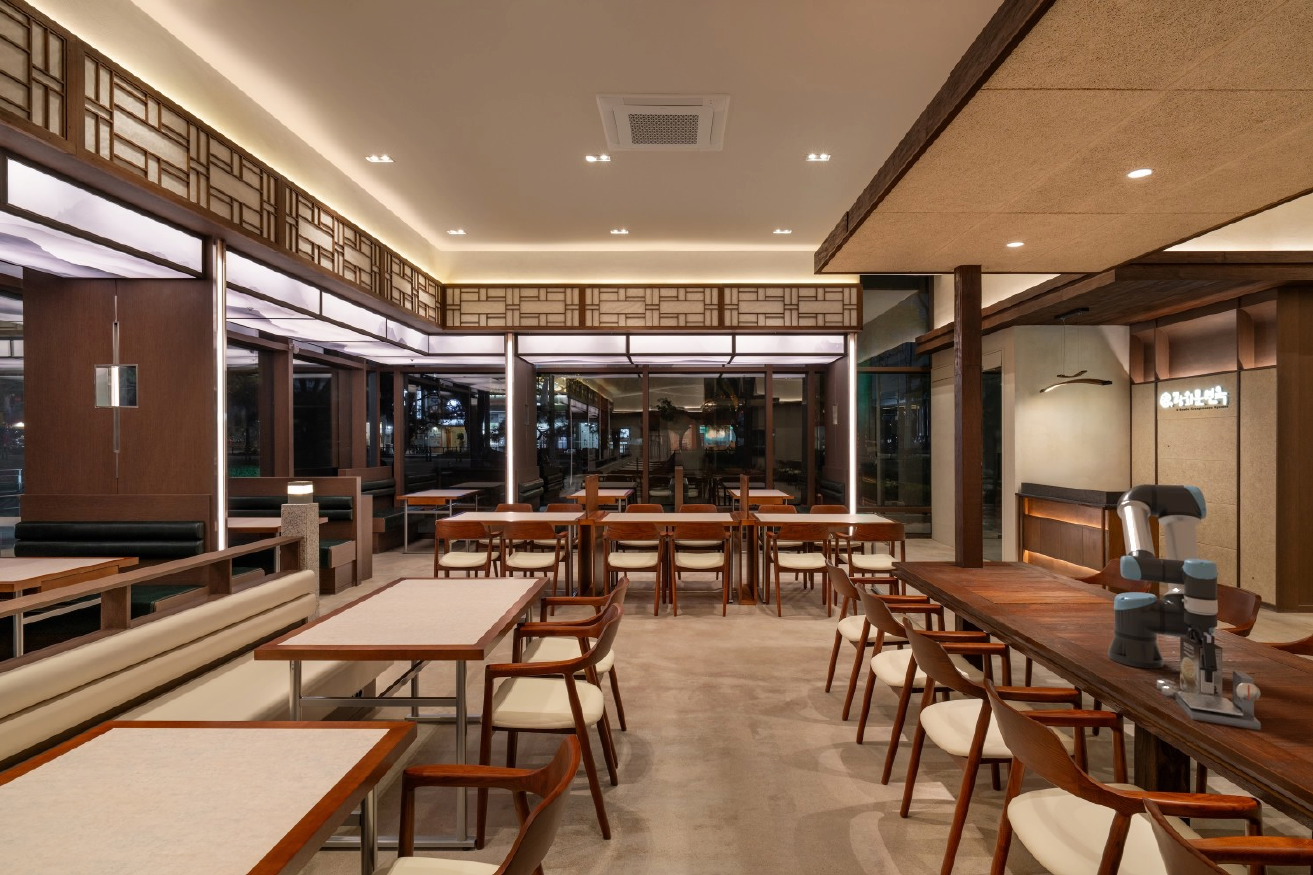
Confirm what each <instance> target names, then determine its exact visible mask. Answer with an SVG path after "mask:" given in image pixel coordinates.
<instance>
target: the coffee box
mask: <svg viewBox="0 0 1313 875" xmlns="http://www.w3.org/2000/svg"><path fill="white" fill-rule="evenodd" d="M1179 638H1180V639H1179V642H1180V643H1179V644H1180V645H1179V650H1180V652H1179V686H1180V687H1179V688H1180V689H1181V691H1183V692H1187V693H1194V694H1201V695H1208V696H1215V697H1222V698H1223V647H1221V646H1220V645H1218V644H1216V643H1214V645H1215V654H1216V663H1217V672H1216V671H1214V694H1212V693H1205V692H1201V670H1200V669H1199V668H1200V667H1202V655H1203V645H1197V644H1196V641H1195V640H1194V639H1190V638H1189V637H1179Z"/></svg>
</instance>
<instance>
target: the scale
mask: <svg viewBox="0 0 1313 875" xmlns="http://www.w3.org/2000/svg"><path fill="white" fill-rule="evenodd" d="M1254 682H1255V679H1254V678H1253V677H1252V676H1250V675H1249V674H1247V673H1246V672H1245V671H1239V670H1232V700H1231V701H1230V700H1229V699H1228V698H1226V697H1223V696H1222V697H1215V696H1208V695H1201V694H1194V693H1187V692H1185V691H1181V692H1180V691H1177V693H1178V694H1177V693H1176V698H1175V701H1176V702H1177V703H1178V705H1179V706H1180V707H1181V708H1182V709H1183V710H1184V711H1185V713H1186V714H1187V715H1188V716H1189V718H1191V719H1192V720H1194V721H1201V722H1207V723H1212V724H1213V723H1214V724H1218V725H1219V724H1220V725H1223V726H1224V725H1225V726H1231V727H1236V728H1237V727H1238V728H1243V729H1244V728H1245V729H1251V730H1255V731H1256V730H1257V731H1261V730H1262V729H1261V728H1262V727H1261V726H1262V725H1261V722H1260V721H1259V719H1257V718H1256V717H1255V701H1257V700H1259V698H1260V697H1261V691H1260V688H1258V686H1257V685H1255V683H1254Z"/></svg>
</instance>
